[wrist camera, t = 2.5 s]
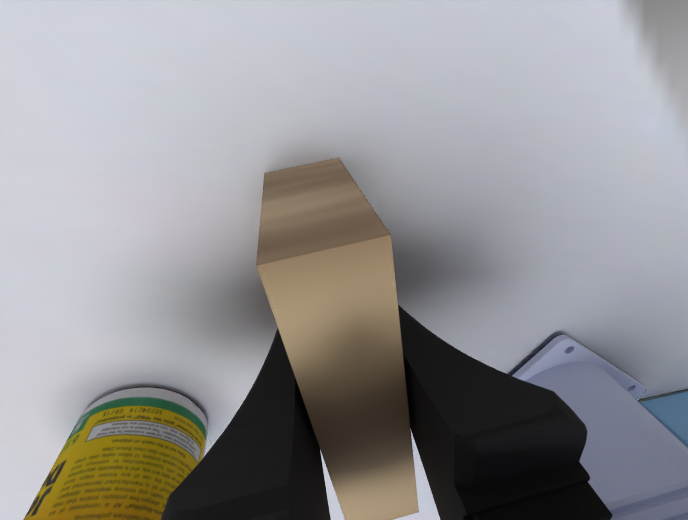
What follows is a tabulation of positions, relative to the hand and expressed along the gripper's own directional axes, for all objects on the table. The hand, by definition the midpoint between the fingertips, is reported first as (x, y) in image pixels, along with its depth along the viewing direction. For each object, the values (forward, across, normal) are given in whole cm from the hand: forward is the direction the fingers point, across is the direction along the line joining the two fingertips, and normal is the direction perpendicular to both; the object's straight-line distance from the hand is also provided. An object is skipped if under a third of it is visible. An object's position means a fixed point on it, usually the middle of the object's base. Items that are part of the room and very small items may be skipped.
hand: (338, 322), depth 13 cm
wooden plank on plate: (+2, 0, 0) cm, 2 cm away
